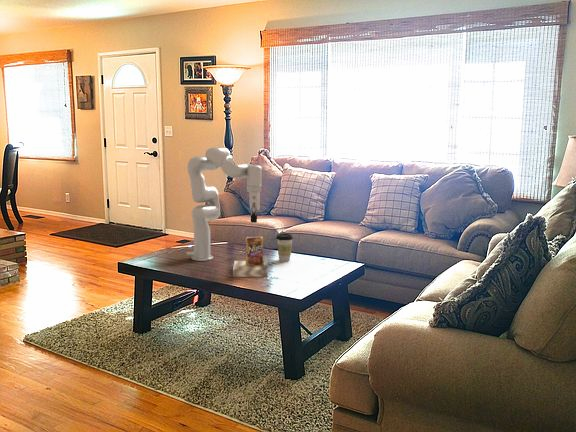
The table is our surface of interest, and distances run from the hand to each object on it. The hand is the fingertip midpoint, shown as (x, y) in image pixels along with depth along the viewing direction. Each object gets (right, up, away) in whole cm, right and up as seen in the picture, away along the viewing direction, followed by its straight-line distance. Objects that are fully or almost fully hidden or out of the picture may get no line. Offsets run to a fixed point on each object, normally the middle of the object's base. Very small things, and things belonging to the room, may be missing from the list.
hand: (253, 220), depth 303 cm
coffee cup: (+16, -24, +31) cm, 42 cm away
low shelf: (-2, -28, +4) cm, 28 cm away
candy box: (0, -24, +4) cm, 24 cm away
